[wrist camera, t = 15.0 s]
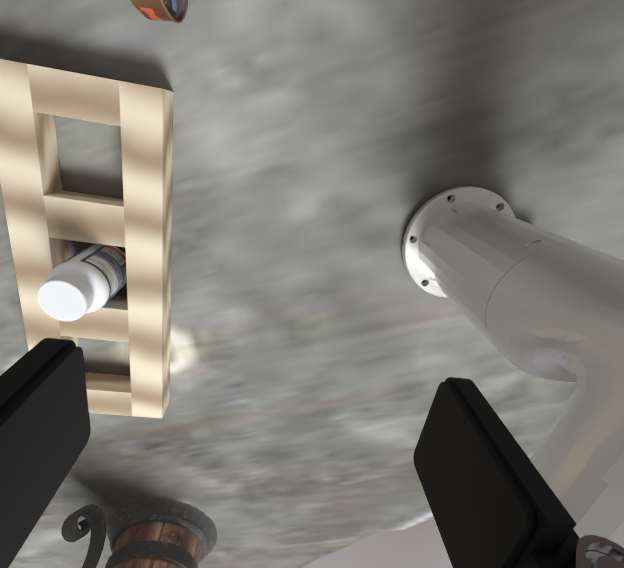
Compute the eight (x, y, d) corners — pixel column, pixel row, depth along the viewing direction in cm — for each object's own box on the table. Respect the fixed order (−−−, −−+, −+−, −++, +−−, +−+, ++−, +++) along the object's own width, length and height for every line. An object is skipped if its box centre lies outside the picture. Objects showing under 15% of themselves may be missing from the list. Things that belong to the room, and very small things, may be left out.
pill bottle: (88, 288, 40) (38, 329, 32) (75, 243, 38) (17, 274, 30) (137, 286, 40) (100, 326, 32) (127, 241, 38) (83, 272, 30)
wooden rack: (6, 61, 31) (-21, 55, 28) (173, 91, 33) (162, 88, 30) (53, 391, 45) (38, 408, 42) (169, 401, 47) (162, 418, 44)
